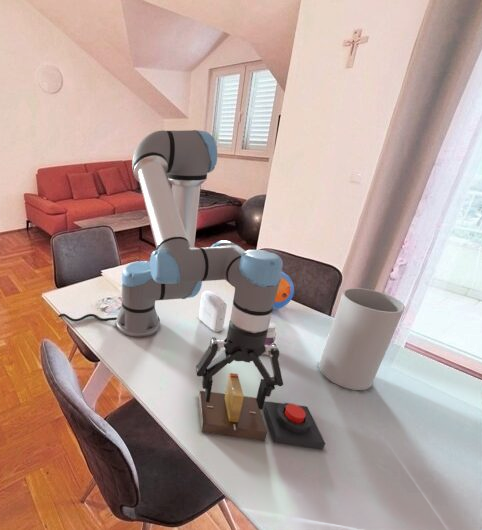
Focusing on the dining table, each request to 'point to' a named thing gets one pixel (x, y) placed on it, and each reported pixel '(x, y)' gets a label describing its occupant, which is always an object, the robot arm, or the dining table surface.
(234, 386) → the lock handle
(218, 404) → the panel
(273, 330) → the pill bottle
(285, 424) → the button box
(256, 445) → the dining table surface
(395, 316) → the cylinder vase
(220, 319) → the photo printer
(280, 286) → the treat dispenser ball
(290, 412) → the button
